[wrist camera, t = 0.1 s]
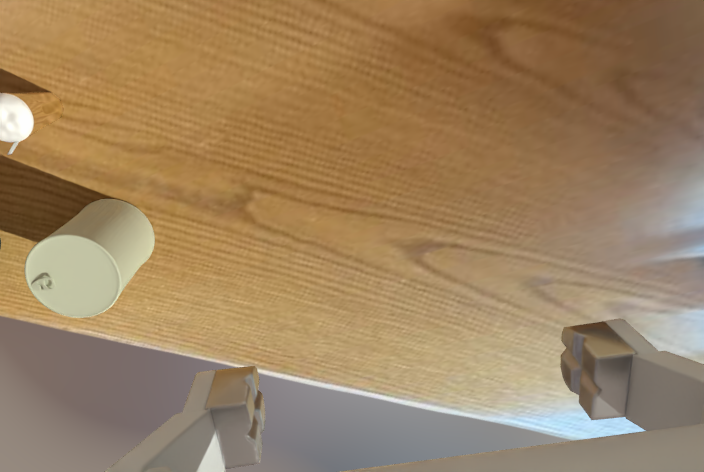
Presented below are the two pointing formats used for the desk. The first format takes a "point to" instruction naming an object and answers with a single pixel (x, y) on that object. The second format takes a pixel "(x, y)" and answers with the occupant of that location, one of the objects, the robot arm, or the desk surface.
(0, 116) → the milkshake
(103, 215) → the can
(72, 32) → the desk surface
